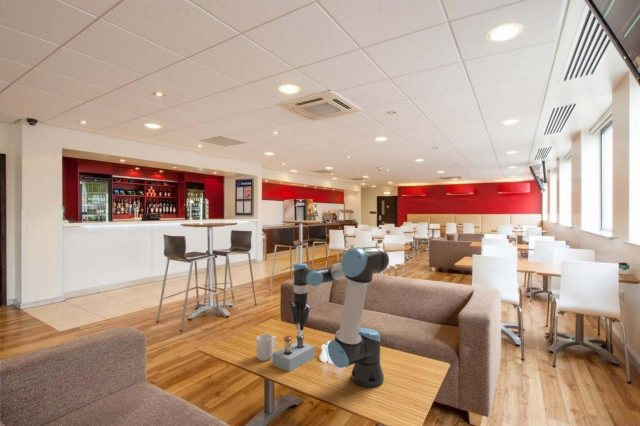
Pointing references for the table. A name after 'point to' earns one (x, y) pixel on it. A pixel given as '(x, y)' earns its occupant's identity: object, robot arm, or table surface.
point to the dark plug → (300, 341)
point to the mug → (265, 347)
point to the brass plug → (287, 344)
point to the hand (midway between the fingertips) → (300, 335)
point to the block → (293, 357)
